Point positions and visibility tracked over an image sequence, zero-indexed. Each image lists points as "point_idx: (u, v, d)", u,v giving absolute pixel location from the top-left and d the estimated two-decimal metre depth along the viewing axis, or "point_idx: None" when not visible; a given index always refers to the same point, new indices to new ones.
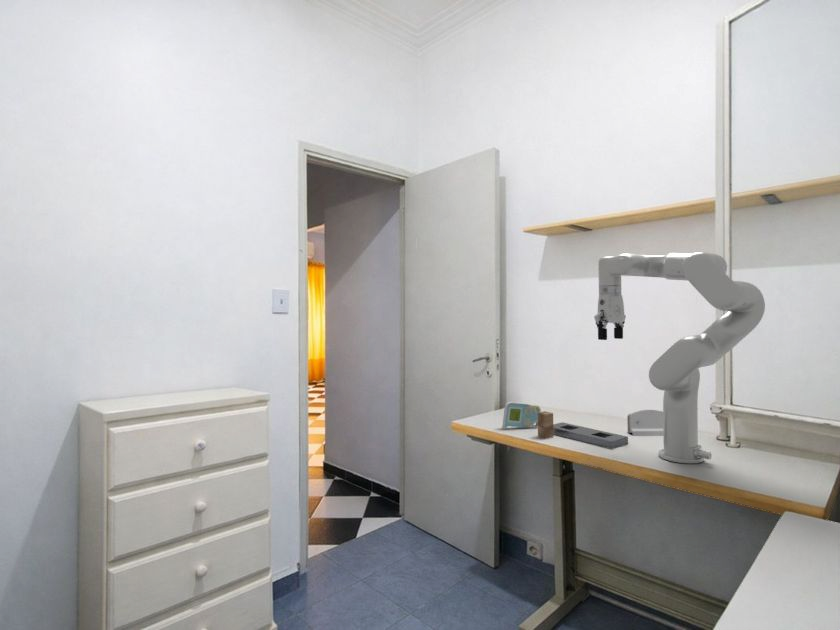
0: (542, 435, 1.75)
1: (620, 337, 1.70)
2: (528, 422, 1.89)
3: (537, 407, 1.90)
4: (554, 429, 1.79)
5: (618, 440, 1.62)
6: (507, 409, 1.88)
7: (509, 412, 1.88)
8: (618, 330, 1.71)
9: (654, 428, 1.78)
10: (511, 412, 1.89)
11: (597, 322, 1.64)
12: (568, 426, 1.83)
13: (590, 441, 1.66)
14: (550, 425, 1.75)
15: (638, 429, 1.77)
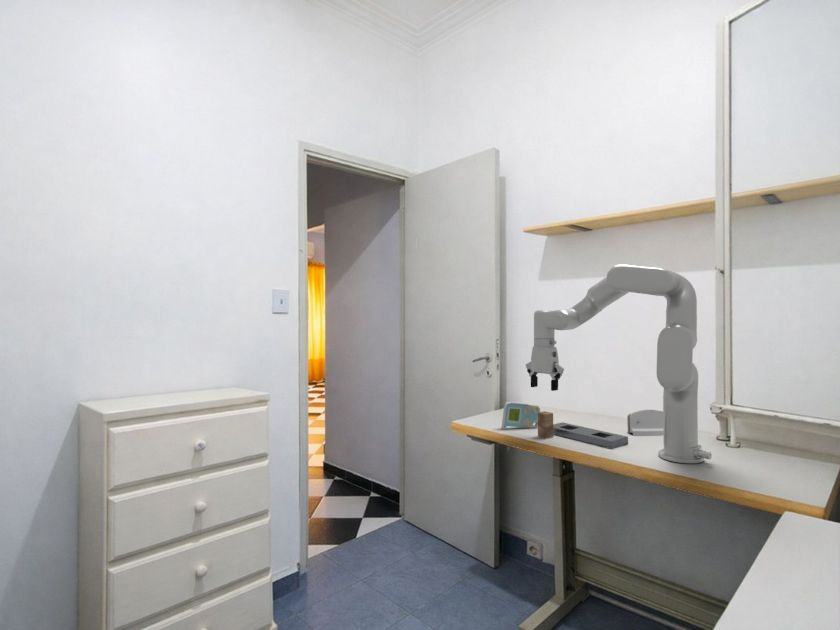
0: (542, 435, 1.75)
1: (536, 385, 1.81)
2: (527, 422, 1.89)
3: (536, 407, 1.90)
4: (554, 429, 1.79)
5: (618, 440, 1.62)
6: (506, 409, 1.88)
7: (508, 413, 1.88)
8: (535, 379, 1.81)
9: (654, 428, 1.78)
10: (510, 412, 1.88)
11: (561, 374, 1.70)
12: (568, 426, 1.83)
13: (590, 441, 1.66)
14: (550, 425, 1.75)
15: (638, 429, 1.77)
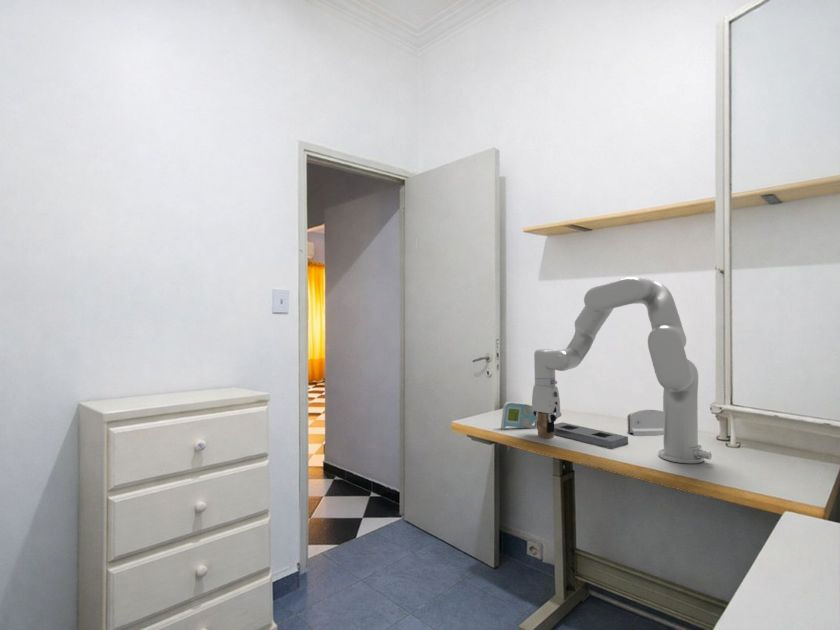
0: (542, 435, 1.75)
1: None
2: (527, 422, 1.89)
3: None
4: (554, 429, 1.79)
5: (618, 440, 1.62)
6: (506, 409, 1.88)
7: (507, 413, 1.88)
8: None
9: (654, 428, 1.78)
10: (510, 412, 1.88)
11: None
12: (568, 426, 1.83)
13: (590, 441, 1.66)
14: None
15: (638, 429, 1.77)
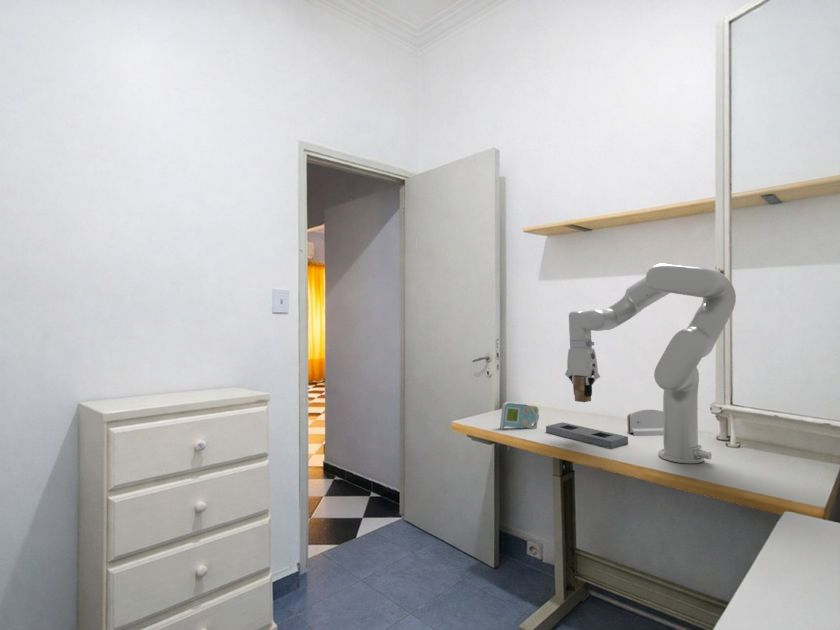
0: (579, 399, 1.69)
1: None
2: (526, 422, 1.89)
3: (535, 407, 1.90)
4: (554, 429, 1.79)
5: (618, 440, 1.62)
6: (505, 409, 1.88)
7: (506, 413, 1.88)
8: None
9: (654, 428, 1.78)
10: (509, 412, 1.88)
11: None
12: (568, 426, 1.83)
13: (590, 441, 1.66)
14: None
15: (639, 429, 1.77)
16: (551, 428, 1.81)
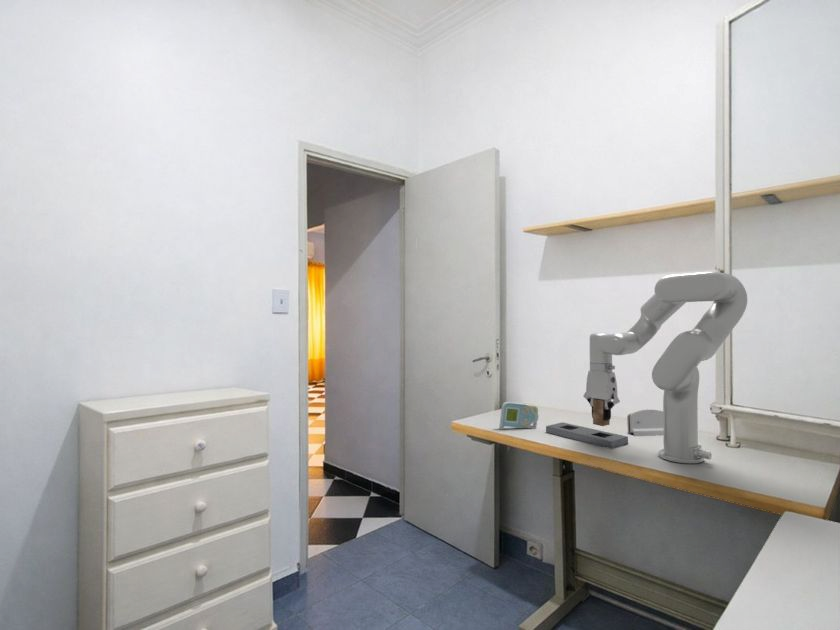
0: (598, 422, 1.67)
1: None
2: (525, 422, 1.89)
3: (534, 407, 1.90)
4: (554, 429, 1.79)
5: (618, 440, 1.62)
6: (504, 409, 1.88)
7: (506, 413, 1.88)
8: None
9: (654, 428, 1.78)
10: (508, 412, 1.88)
11: (614, 403, 1.64)
12: (568, 426, 1.83)
13: (590, 441, 1.66)
14: None
15: (639, 429, 1.77)
16: (551, 428, 1.81)
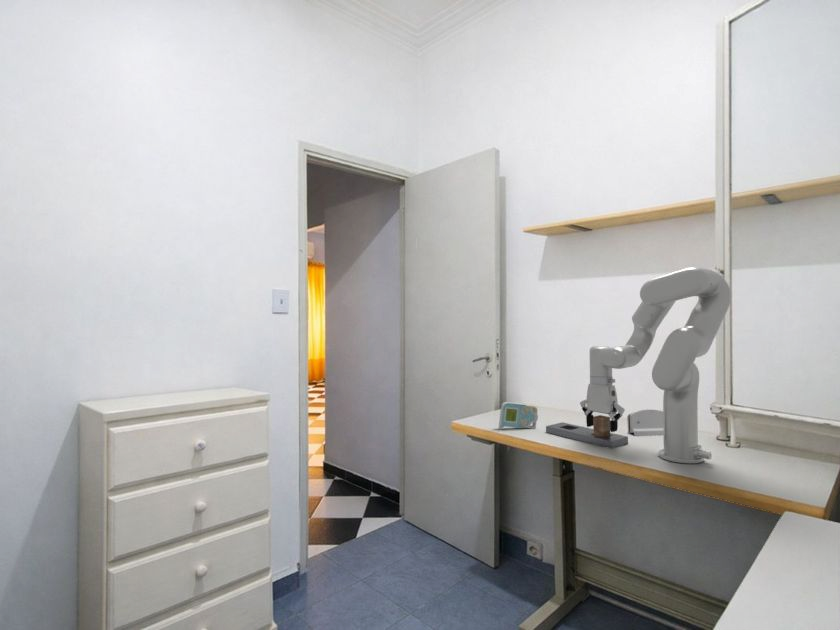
0: None
1: (592, 424, 1.73)
2: (525, 422, 1.89)
3: (534, 407, 1.90)
4: (554, 429, 1.79)
5: (618, 440, 1.62)
6: (503, 409, 1.88)
7: (505, 413, 1.88)
8: (591, 418, 1.72)
9: (654, 428, 1.78)
10: (507, 412, 1.88)
11: (621, 415, 1.62)
12: (568, 426, 1.83)
13: (590, 441, 1.66)
14: (607, 430, 1.67)
15: (639, 429, 1.77)
16: (551, 428, 1.81)
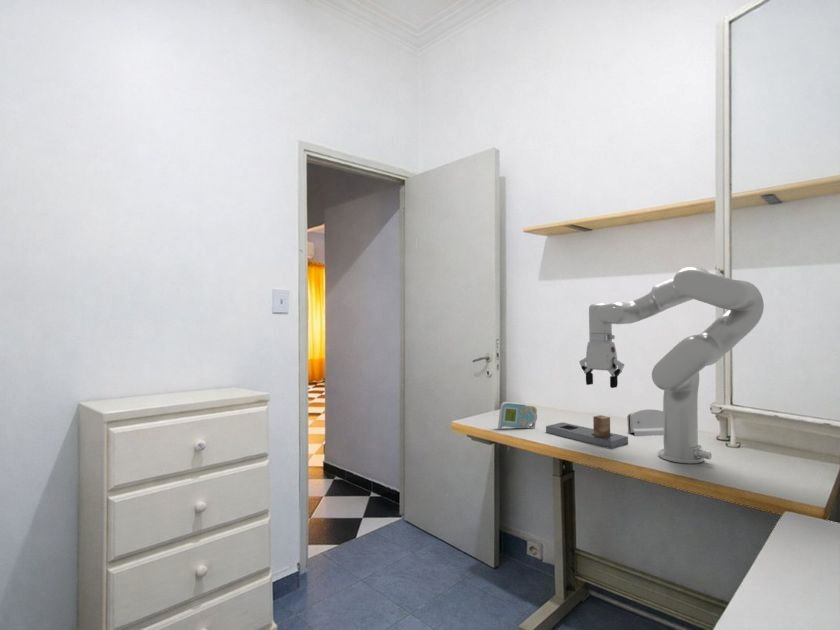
0: None
1: (592, 383, 1.73)
2: (524, 422, 1.89)
3: (533, 407, 1.89)
4: (554, 429, 1.79)
5: (618, 440, 1.62)
6: (503, 409, 1.88)
7: (504, 413, 1.88)
8: (590, 376, 1.72)
9: (654, 428, 1.78)
10: (507, 412, 1.88)
11: (621, 370, 1.62)
12: (568, 426, 1.83)
13: (590, 441, 1.66)
14: (607, 430, 1.67)
15: (639, 429, 1.77)
16: (551, 428, 1.81)
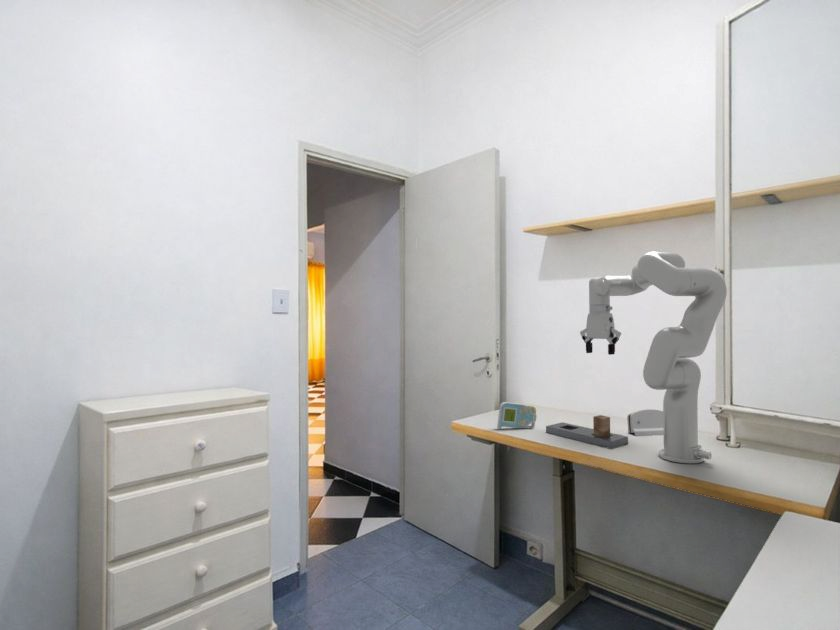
0: None
1: (591, 351, 1.87)
2: (523, 423, 1.88)
3: (532, 408, 1.89)
4: (554, 429, 1.79)
5: (618, 440, 1.62)
6: (502, 409, 1.88)
7: (504, 413, 1.88)
8: (590, 345, 1.87)
9: (654, 428, 1.78)
10: (506, 412, 1.88)
11: (618, 338, 1.77)
12: (568, 426, 1.83)
13: (590, 441, 1.66)
14: (607, 430, 1.67)
15: (639, 429, 1.77)
16: (551, 428, 1.81)
